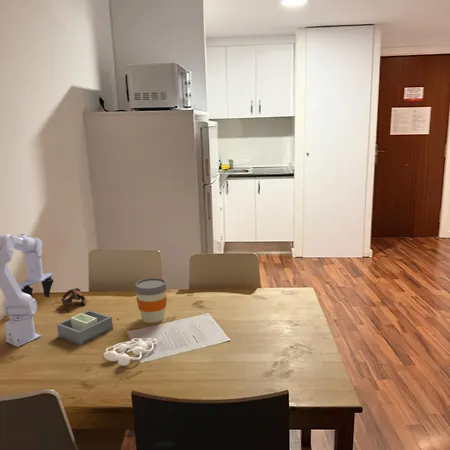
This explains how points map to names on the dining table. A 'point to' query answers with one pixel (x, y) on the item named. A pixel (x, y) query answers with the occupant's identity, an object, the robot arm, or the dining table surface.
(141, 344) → the white tangled earphones
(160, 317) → the reusable coffee cup
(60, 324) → the charcoal crate
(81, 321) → the sage crate
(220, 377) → the dining table surface
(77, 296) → the pottery mug
